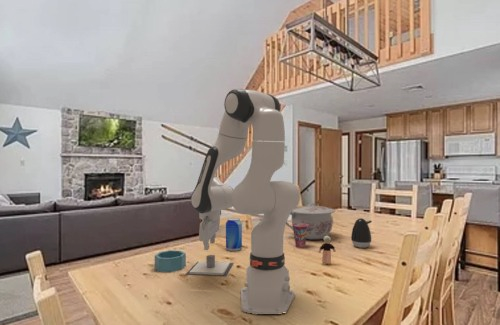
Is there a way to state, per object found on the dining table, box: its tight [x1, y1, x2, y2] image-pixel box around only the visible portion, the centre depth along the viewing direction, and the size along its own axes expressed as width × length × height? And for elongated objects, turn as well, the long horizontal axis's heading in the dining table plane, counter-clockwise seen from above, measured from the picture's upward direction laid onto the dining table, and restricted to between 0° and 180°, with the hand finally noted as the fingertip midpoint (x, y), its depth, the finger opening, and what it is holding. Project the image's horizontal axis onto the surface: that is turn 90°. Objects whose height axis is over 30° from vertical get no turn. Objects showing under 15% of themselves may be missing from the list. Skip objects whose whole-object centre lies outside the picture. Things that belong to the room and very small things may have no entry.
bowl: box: [154, 249, 187, 273], centre depth 137 cm, size 12×12×6 cm
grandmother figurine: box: [317, 235, 337, 266], centre depth 141 cm, size 8×4×13 cm, turn 105°
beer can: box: [225, 217, 243, 252], centre depth 166 cm, size 8×8×16 cm
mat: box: [184, 261, 235, 278], centre depth 135 cm, size 17×17×1 cm
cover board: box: [190, 254, 231, 275], centre depth 135 cm, size 14×14×5 cm
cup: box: [291, 223, 310, 249], centre depth 170 cm, size 9×8×12 cm
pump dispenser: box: [350, 218, 372, 249], centre depth 169 cm, size 10×10×15 cm
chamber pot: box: [285, 202, 336, 241], centre depth 191 cm, size 28×28×21 cm
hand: (209, 246), depth 135 cm, fingers open, 8 cm apart
